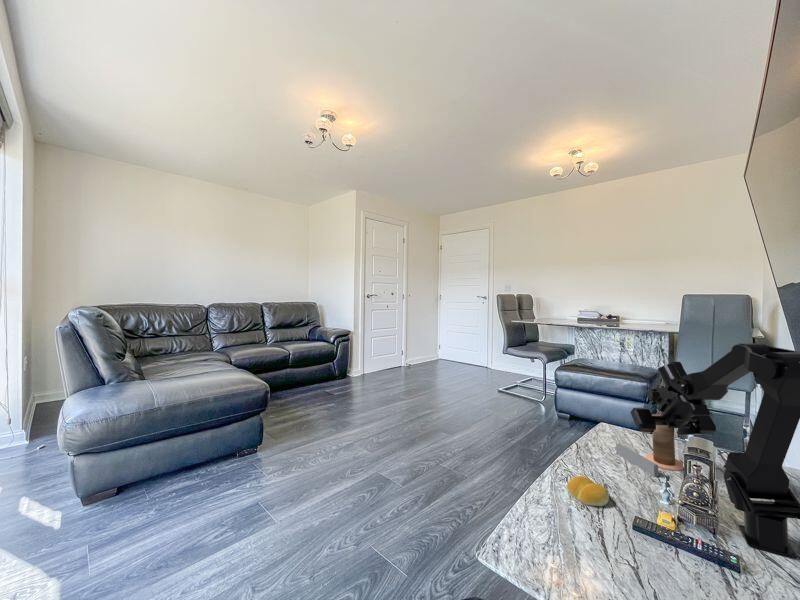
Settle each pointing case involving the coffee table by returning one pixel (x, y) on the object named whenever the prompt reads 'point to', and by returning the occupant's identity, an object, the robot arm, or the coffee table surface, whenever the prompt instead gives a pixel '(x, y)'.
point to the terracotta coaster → (675, 467)
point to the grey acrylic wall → (637, 460)
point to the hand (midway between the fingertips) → (660, 433)
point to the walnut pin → (663, 445)
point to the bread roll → (587, 491)
